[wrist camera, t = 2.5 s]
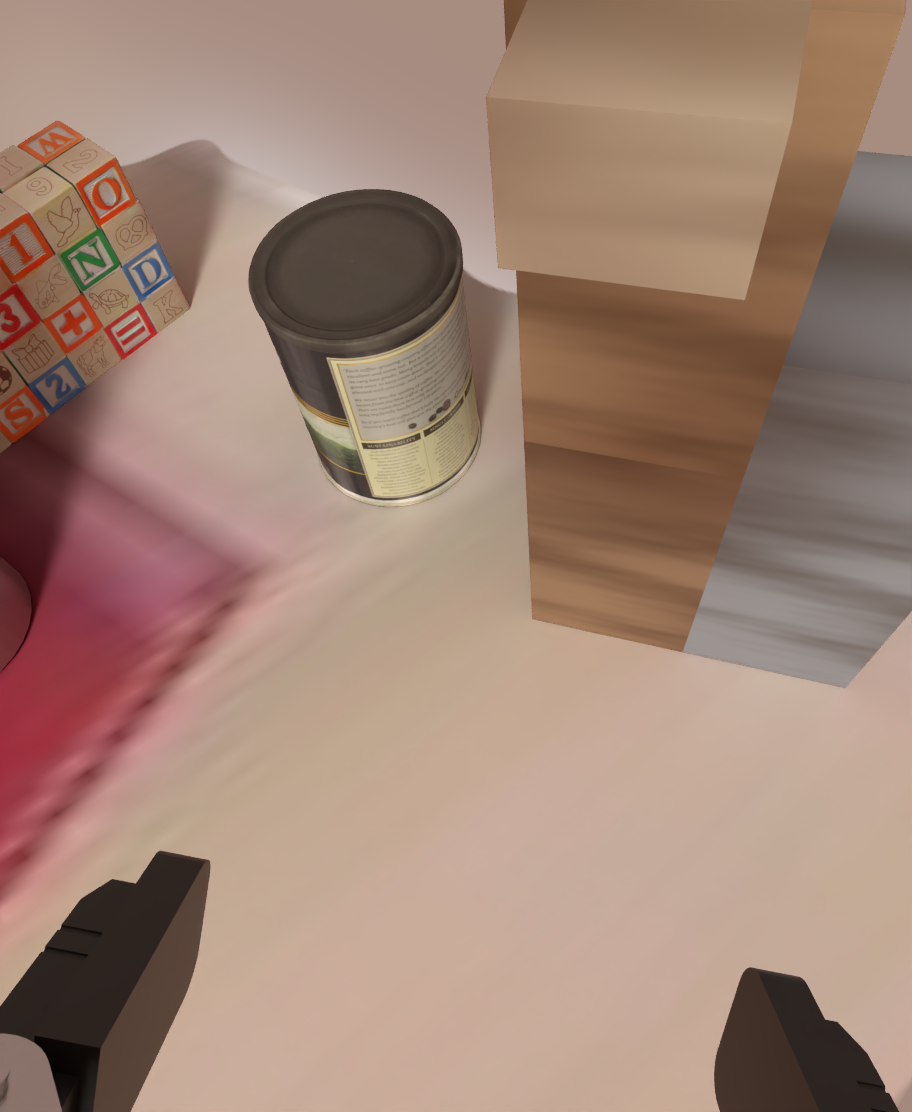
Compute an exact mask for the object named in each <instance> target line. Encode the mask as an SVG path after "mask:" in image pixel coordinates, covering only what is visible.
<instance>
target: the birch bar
mask: <svg viewBox="0 0 912 1112" xmlns="http://www.w3.org/2000/svg"><path fill="white" fill-rule="evenodd" d="M811 5H812V0H527V2H526V5H525V7H524V9H523V12H522V14H521V16H520V19H519V21H518V23H517V26H516V28H515V30H514V33H513V35H512V37H511V40H510V42H509V45H508V47H507V49H506V52H505V54H504V56H503V59H502V61H501V63H500V66H499V68H498V70H497V73H496V75H495V77H494V80H493V82H492V84H491V87H490V89H489V92H488V94H487V96H486V102H487V117H488V131H489V146H490V158H491V159H490V160H491V173H492V189H493V202H494V217H495V231H496V246H497V260H498V268H503V269H511V270H518V271H525V272H533V273H541V274H548V275H556V276H564V277H571V278H579V279H587V280H594V281H602V282H610V283H617V284H625V285H633V286H640V287H648V288H656V289H663V290H671V291H679V292H686V293H694V294H702V295H709V296H717V297H724V298H732V299H740V300H745V298H746V294H747V290H748V287H749V283H750V279H751V275H752V272H753V268H754V264H755V260H756V257H757V253H758V249H759V245H760V242H761V238H762V234H763V230H764V226H765V223H766V219H767V215H768V211H769V208H770V204H771V200H772V196H773V193H774V189H775V185H776V181H777V178H778V174H779V170H780V166H781V163H782V159H783V155H784V151H785V147H786V144H787V140H788V136H789V132H790V129H791V125H792V120H793V114H794V108H795V102H796V96H797V90H798V84H799V77H800V71H801V65H802V59H803V53H804V47H805V41H806V35H807V29H808V23H809V17H810V11H811Z"/></svg>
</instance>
